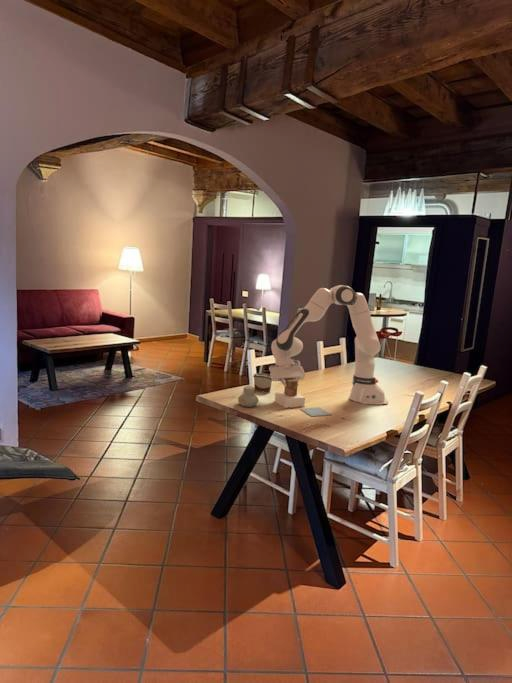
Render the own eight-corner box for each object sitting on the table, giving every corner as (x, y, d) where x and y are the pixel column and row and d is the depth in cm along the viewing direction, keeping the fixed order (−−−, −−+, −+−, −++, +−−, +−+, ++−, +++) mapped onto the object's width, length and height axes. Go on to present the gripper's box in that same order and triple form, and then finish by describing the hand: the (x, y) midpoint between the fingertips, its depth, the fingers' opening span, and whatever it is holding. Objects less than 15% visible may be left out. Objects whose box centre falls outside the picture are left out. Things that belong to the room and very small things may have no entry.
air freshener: (235, 403, 250) (236, 385, 249) (248, 401, 255) (249, 384, 254) (247, 409, 242) (249, 390, 240) (260, 407, 247) (261, 389, 245)
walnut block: (292, 392, 259) (293, 378, 258) (296, 395, 255) (297, 381, 253) (284, 393, 257) (285, 379, 256) (288, 395, 252) (289, 381, 251)
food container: (274, 391, 280) (276, 374, 279) (271, 393, 275) (273, 377, 273) (255, 387, 284) (256, 372, 283) (252, 390, 278) (253, 374, 277)
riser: (293, 399, 264) (294, 391, 264) (304, 406, 254) (305, 397, 253) (274, 401, 259) (275, 392, 259) (285, 407, 249) (285, 398, 248)
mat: (319, 408, 253) (319, 407, 252) (331, 415, 242) (331, 414, 242) (300, 409, 247) (300, 408, 247) (311, 416, 237) (311, 415, 237)
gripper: (270, 362, 255) (276, 384, 248) (302, 361, 263) (309, 382, 256) (265, 368, 259) (272, 390, 252) (297, 367, 268) (305, 388, 261)
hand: (291, 386), depth 254 cm, fingers closed on walnut block, 5 cm apart
